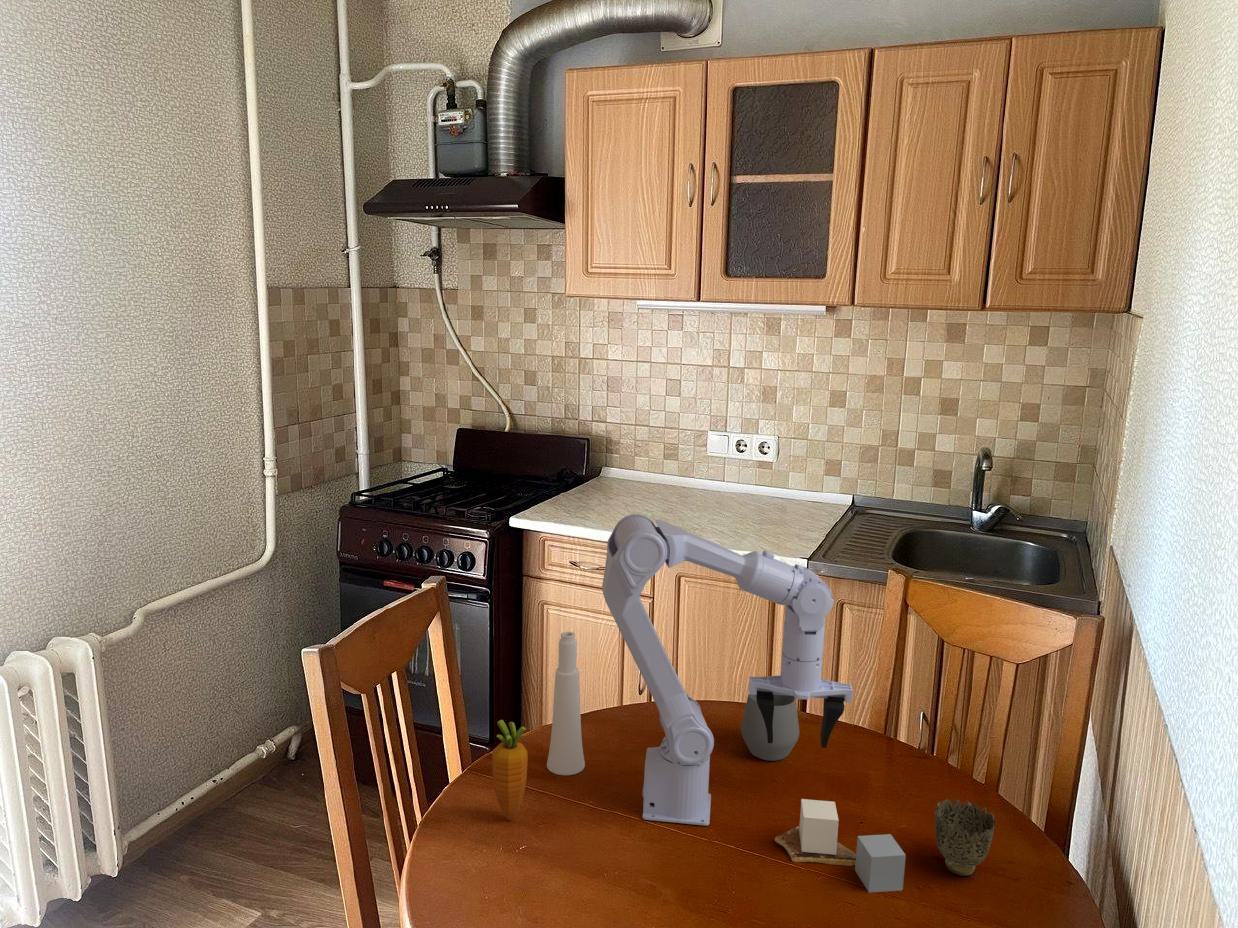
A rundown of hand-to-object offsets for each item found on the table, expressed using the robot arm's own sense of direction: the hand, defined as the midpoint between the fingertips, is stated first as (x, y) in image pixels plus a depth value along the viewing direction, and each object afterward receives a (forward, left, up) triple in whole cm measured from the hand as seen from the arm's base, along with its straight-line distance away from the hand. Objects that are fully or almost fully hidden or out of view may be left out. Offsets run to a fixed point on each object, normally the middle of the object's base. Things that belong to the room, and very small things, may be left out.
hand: (796, 742), depth 131 cm
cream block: (+3, -11, -9) cm, 14 cm away
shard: (+3, -10, -11) cm, 15 cm away
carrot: (-40, -11, -10) cm, 43 cm away
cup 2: (+21, -12, -10) cm, 26 cm away
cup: (-3, +15, -10) cm, 18 cm away
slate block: (+10, -16, -10) cm, 21 cm away
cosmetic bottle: (-35, +5, -10) cm, 37 cm away
